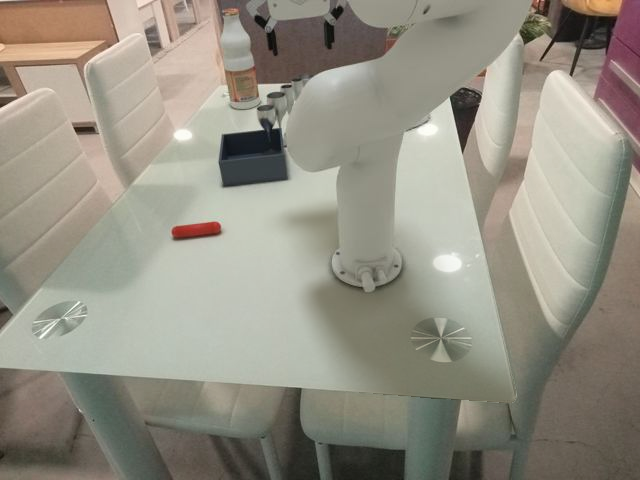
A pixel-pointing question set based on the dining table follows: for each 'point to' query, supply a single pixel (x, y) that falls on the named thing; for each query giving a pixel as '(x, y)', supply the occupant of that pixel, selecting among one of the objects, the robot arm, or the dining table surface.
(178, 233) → the red rounded rod
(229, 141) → the bin
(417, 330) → the dining table surface
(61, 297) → the dining table surface
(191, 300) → the dining table surface
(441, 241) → the dining table surface
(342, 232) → the robot arm
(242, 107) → the fruit juice
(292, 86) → the goblet set
